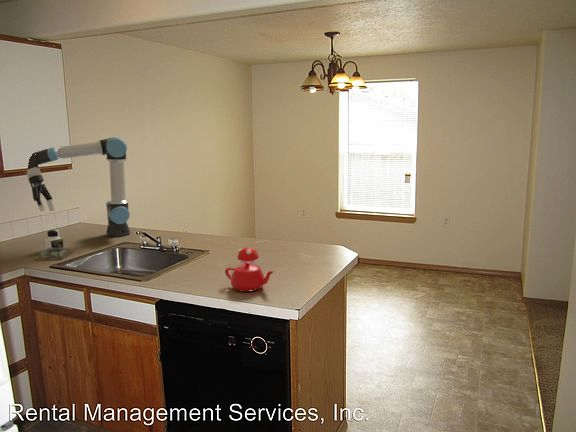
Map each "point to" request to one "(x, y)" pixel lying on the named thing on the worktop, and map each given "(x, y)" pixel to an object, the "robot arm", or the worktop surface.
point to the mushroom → (247, 255)
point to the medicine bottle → (54, 240)
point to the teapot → (247, 277)
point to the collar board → (54, 254)
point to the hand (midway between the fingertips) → (47, 210)
